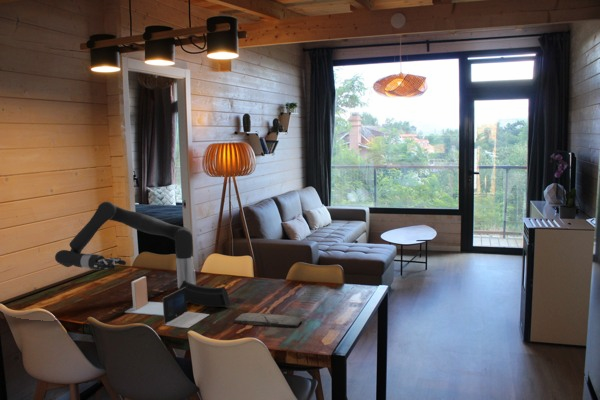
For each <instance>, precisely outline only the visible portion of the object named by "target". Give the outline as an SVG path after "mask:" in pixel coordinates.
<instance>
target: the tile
mask: <svg viewBox="0 0 600 400" xmlns="http://www.w3.org/2000/svg"><path fill="white" fill-rule="evenodd" d="M147 285H148V284H147V276H141V277H139V278H137V279H134V280H133V281H131V294H132V308H133V310H137V309H139V308H141V307H143V306H145V305H147V304H148V302H149V301H148V287H147Z"/></svg>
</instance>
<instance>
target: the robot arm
mask: <svg viewBox="0 0 600 400" xmlns="http://www.w3.org/2000/svg"><path fill="white" fill-rule="evenodd" d="M108 221H113V222H118V223H121V224H124V225H126V226H128V227H130V228H132V229H134V230H137V231H140V232H143V233H146V234H149V235H155V236H161V237H167V238H169V239H171V240H174V245H175V246H174V247H175V261H176V263H175V264H176V278H177V280H176V281H177V289H179V288H180V286H181V285H182V283H183V281H184V280H186V282H189V283H191V284H194V285H197V283H196V282H197V280H196V279H197V278H196V270H195V266H194V264H195V263H194V244H193V241H194V240H193V234H192V232H191V230H190V229H189V228H188V227H185V226H180V225H176V224H175V225H174V224H171V223H168V222H166V221H164V220H162V219H159V218H157V217H154V216H151V215H148V214H144V213H141V212H137V211H133V210H128V209H124V208H123V207H120V206H117V205H115V204H113V203H112V202H110V201H103V202H101V203H100V204H99V205H98V206H97V209H96V211H95V212H94V214H93V216H92V217H91V218H90V219H89V221H87V223H86V224H85V225H84V227H83V228H82V229H80V231H78V233H77V234H76V235H75V236H74V237H73V238H72V240H71V241H70V242H69V245H68V246H69V247H70V248H71V249H70V250H69V249H67V250H66V249H62V250H59V251H57V252H56V253H55V256H54V258H55V261H56V262H57V263H58V264H60V265H62V266H63V267H65V268H70V267H73V266H74V267H76V268H81V269H82V268H84V269H87V270H95V271H102V270H103V271H104V270H105V269H106V270H108V269H111V270H114V269H116V265H120V266H126V265H127V261H126V260H124V259H122V258H119V257H110V258H108V257H107V258H105V256H104V255H103V254H96V253H82V251H83V250H84V249H85V247H86V246H87V245H89V242H90V241H91V240H92V239H93V238H94V236H95V235H96V233H97V232H98V231H99V230H100V229H101V227H102V226H103V225H104V224H106V222H108Z"/></svg>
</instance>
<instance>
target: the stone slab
mask: <svg viewBox="0 0 600 400" xmlns="http://www.w3.org/2000/svg"><path fill="white" fill-rule="evenodd" d="M303 320H304V319H303V318H302V317H299V316H291V315H283V314H269V313H256V312H253V313H252V312H247V313H246V312H244V313H241V314H240V315H237V317H236V318H235V319H234V323H235V324H241V325H242V324H243V325H250V326H251V325H252V326H264V327H275V328H276V327H277V328H279V327H280V328H293V329H298V328H299V325H300V323H301V322H302V321H303Z"/></svg>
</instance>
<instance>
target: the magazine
mask: <svg viewBox="0 0 600 400" xmlns="http://www.w3.org/2000/svg"><path fill="white" fill-rule="evenodd" d="M184 287H186V295H187V303H191V304H192V305H197V306H203V307H204V306H205V307H214V308H215V307H230V306H231V305H232V304H231V300H230V297H229V293H228V291H227V289H226V287H225V286H221V287H211V286H210V287H209V286H202V285H197V284H196V285H194V284H191V283H189V282H186V280H184V281H183V283H182V285H181V286H180V288H177V291H178V290H180V289H182V288H184Z"/></svg>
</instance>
